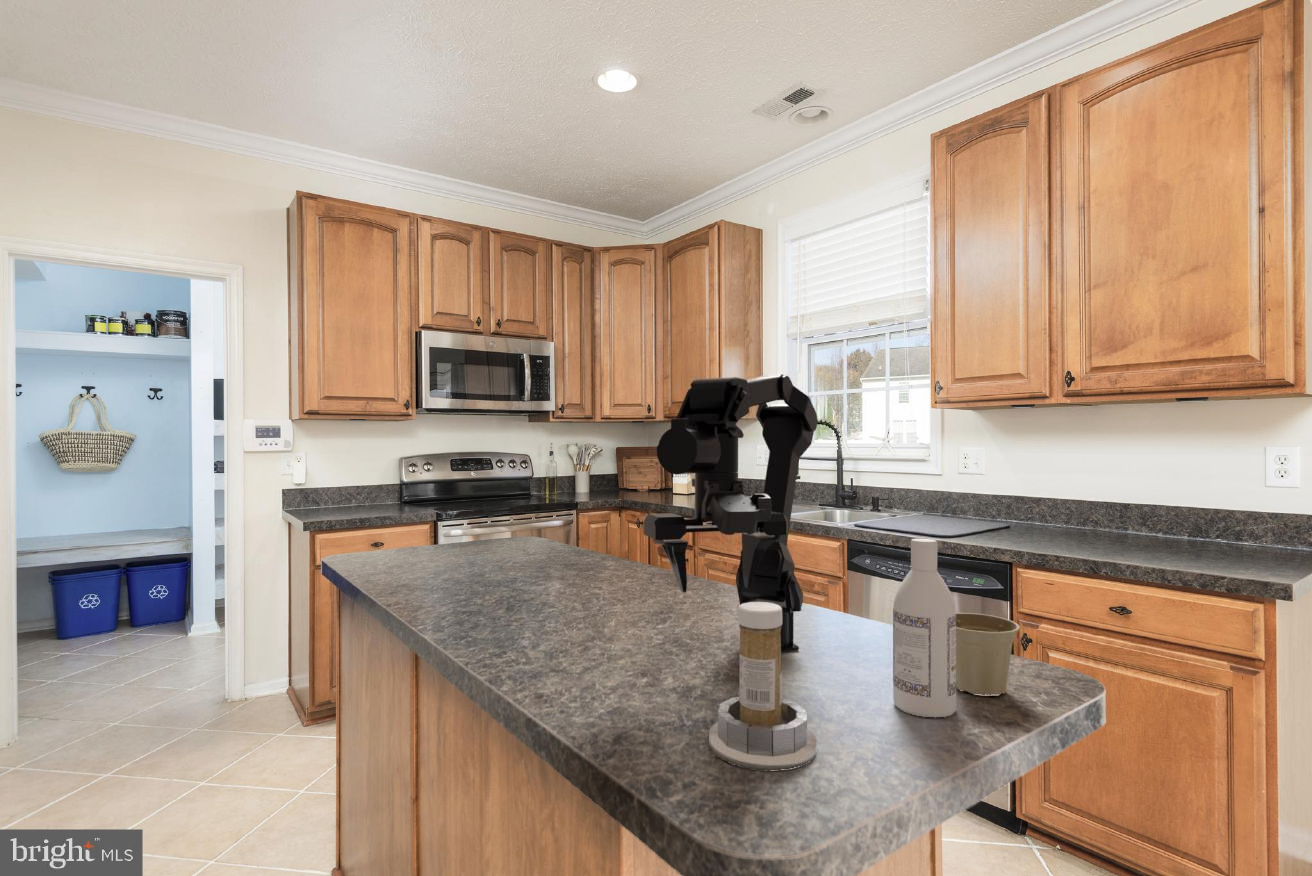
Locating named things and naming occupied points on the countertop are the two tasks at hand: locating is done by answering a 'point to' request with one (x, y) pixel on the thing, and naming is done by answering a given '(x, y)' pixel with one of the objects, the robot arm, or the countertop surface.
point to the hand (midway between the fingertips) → (715, 589)
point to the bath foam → (924, 638)
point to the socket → (763, 738)
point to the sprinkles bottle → (760, 663)
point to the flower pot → (983, 652)
